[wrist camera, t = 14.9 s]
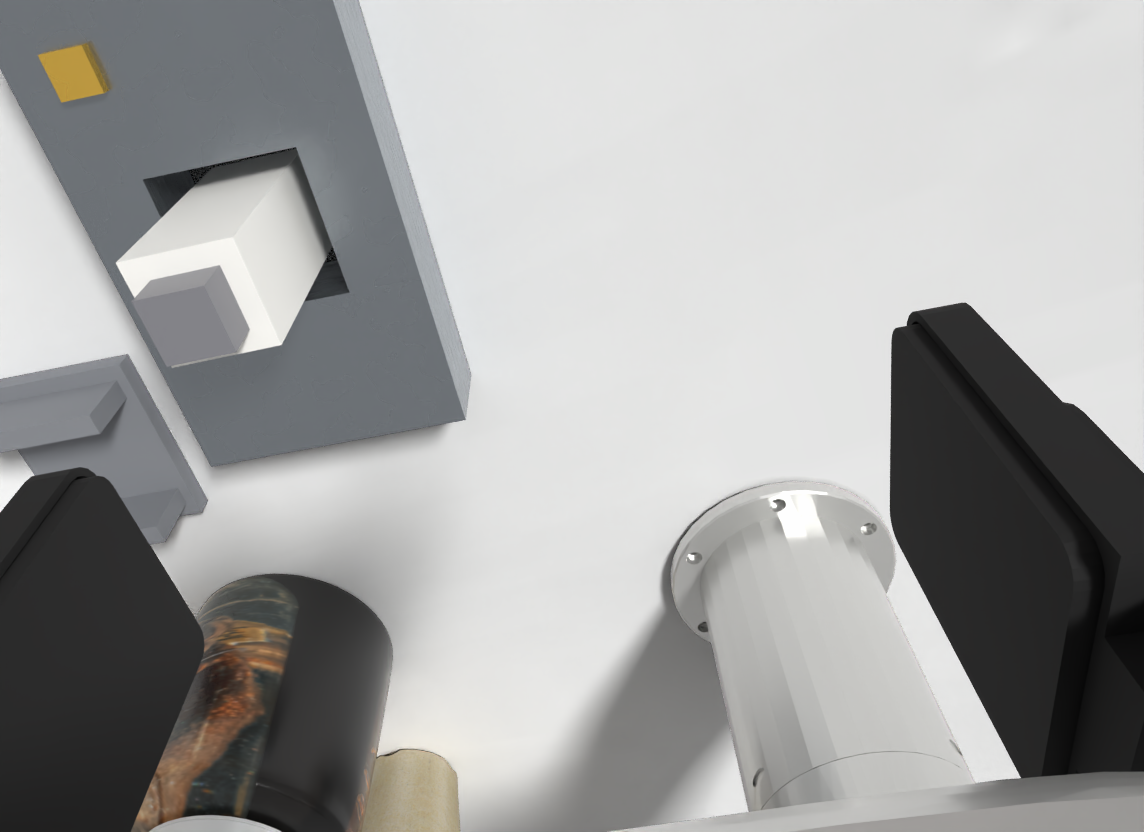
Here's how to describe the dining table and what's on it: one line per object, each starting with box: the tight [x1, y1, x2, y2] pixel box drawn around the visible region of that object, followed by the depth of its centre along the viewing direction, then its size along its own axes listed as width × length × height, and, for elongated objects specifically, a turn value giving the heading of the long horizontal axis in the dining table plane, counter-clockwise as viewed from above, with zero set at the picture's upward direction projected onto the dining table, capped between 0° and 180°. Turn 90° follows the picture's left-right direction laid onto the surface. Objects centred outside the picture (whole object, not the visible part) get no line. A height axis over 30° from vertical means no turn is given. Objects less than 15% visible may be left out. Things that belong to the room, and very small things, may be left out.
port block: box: [0, 0, 471, 467], centre depth 35 cm, size 20×12×4 cm, turn 11°
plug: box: [116, 149, 332, 368], centre depth 32 cm, size 4×4×12 cm
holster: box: [0, 354, 208, 545], centre depth 42 cm, size 9×7×4 cm
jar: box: [131, 574, 393, 832], centre depth 46 cm, size 12×12×15 cm
